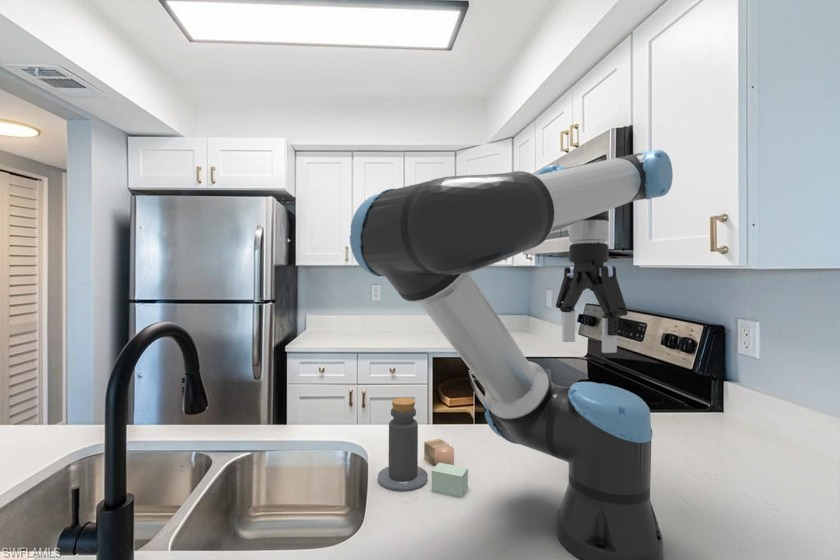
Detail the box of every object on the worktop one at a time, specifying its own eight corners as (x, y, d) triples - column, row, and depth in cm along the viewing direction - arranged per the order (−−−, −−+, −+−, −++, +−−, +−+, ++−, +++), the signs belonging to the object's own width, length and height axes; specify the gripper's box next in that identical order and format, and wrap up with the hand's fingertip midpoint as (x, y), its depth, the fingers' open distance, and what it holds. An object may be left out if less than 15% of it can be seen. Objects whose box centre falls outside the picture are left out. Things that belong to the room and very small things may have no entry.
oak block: (448, 462, 95) (449, 444, 95) (433, 466, 93) (433, 447, 93) (439, 456, 99) (439, 438, 99) (424, 459, 97) (424, 441, 97)
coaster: (433, 488, 84) (433, 484, 84) (381, 493, 81) (381, 489, 81) (421, 466, 93) (421, 462, 93) (374, 470, 91) (374, 466, 91)
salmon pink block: (456, 476, 89) (456, 451, 89) (437, 478, 88) (437, 453, 88) (450, 467, 93) (450, 444, 93) (432, 469, 92) (432, 445, 92)
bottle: (419, 469, 90) (419, 397, 90) (415, 482, 84) (416, 405, 84) (391, 467, 90) (391, 396, 90) (386, 481, 85) (386, 404, 84)
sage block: (461, 498, 80) (461, 476, 80) (431, 491, 83) (431, 470, 83) (467, 488, 84) (468, 467, 84) (438, 482, 86) (438, 462, 86)
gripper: (649, 238, 77) (648, 357, 78) (570, 247, 102) (569, 337, 102) (613, 237, 76) (612, 358, 76) (541, 246, 100) (540, 338, 100)
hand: (587, 346), depth 89 cm, fingers open, 13 cm apart
